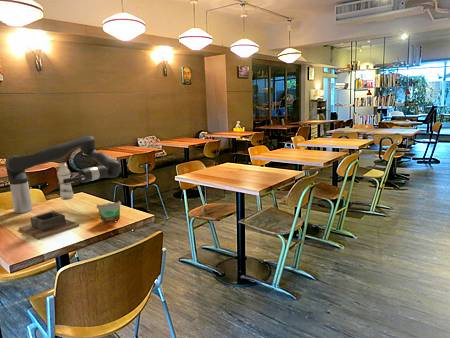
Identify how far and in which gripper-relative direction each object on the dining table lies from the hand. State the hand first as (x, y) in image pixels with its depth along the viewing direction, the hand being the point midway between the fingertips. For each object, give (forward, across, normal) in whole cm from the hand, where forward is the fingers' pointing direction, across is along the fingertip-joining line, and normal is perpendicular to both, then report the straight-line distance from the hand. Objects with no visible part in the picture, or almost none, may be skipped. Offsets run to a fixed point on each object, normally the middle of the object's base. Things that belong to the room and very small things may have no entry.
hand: (60, 180), depth 182 cm
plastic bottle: (-2, 0, +11) cm, 11 cm away
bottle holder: (+11, +5, +22) cm, 25 cm away
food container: (-12, +25, +22) cm, 35 cm away
